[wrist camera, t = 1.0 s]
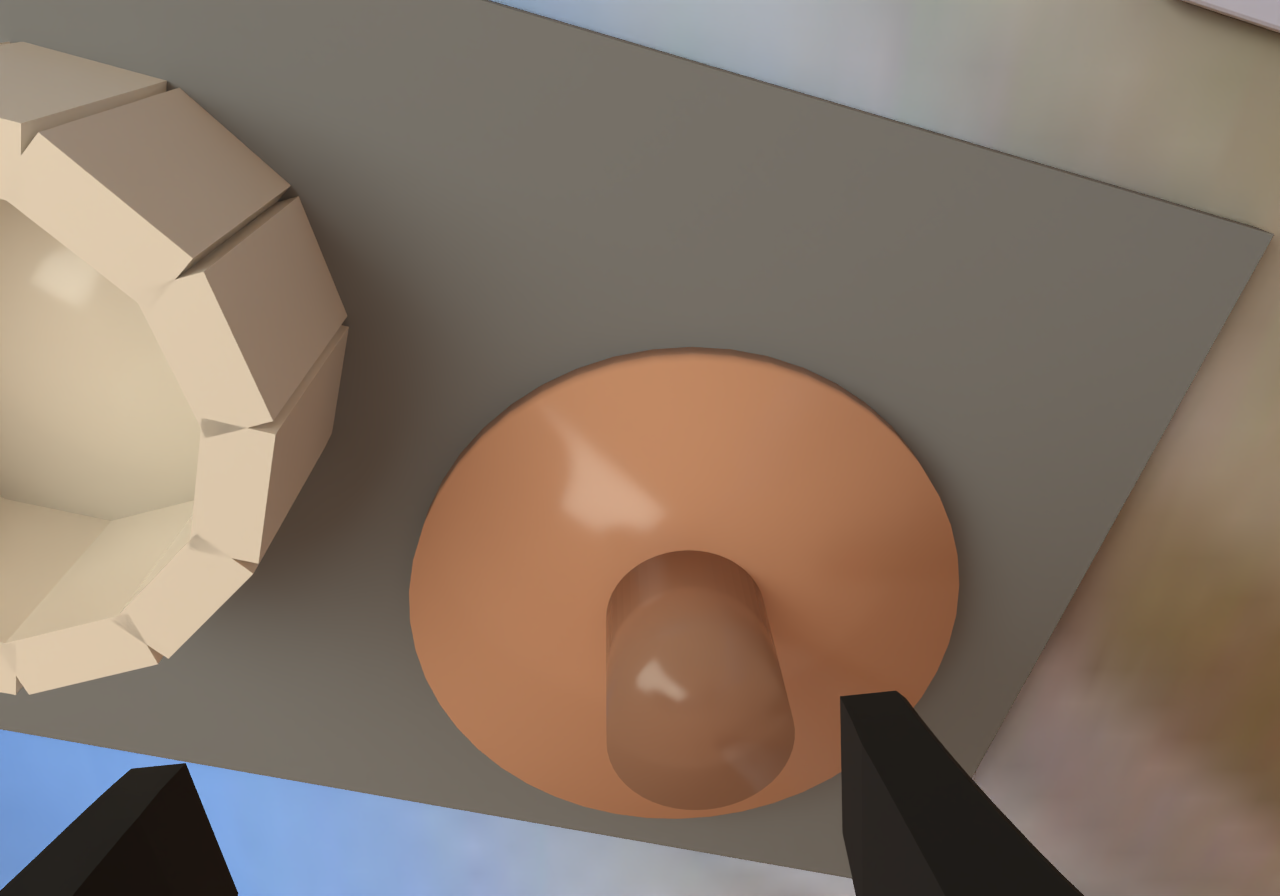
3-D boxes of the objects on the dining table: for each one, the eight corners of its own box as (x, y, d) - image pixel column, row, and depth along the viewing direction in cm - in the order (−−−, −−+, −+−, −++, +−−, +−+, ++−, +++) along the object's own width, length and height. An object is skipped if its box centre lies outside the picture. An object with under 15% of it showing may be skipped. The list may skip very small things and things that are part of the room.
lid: (1036, 423, 19) (1143, 540, 16) (836, 827, 24) (882, 995, 20) (474, 281, 18) (438, 371, 14) (376, 743, 22) (328, 908, 18)
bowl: (379, 138, 17) (306, 197, 13) (308, 579, 20) (235, 734, 16) (-213, -22, 15) (-506, -14, 11) (-171, 482, 19) (-379, 623, 15)
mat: (1257, 227, 18) (1273, 234, 18) (904, 872, 25) (910, 888, 25) (-472, -285, 14) (-507, -292, 14) (-315, 655, 21) (-334, 670, 21)
